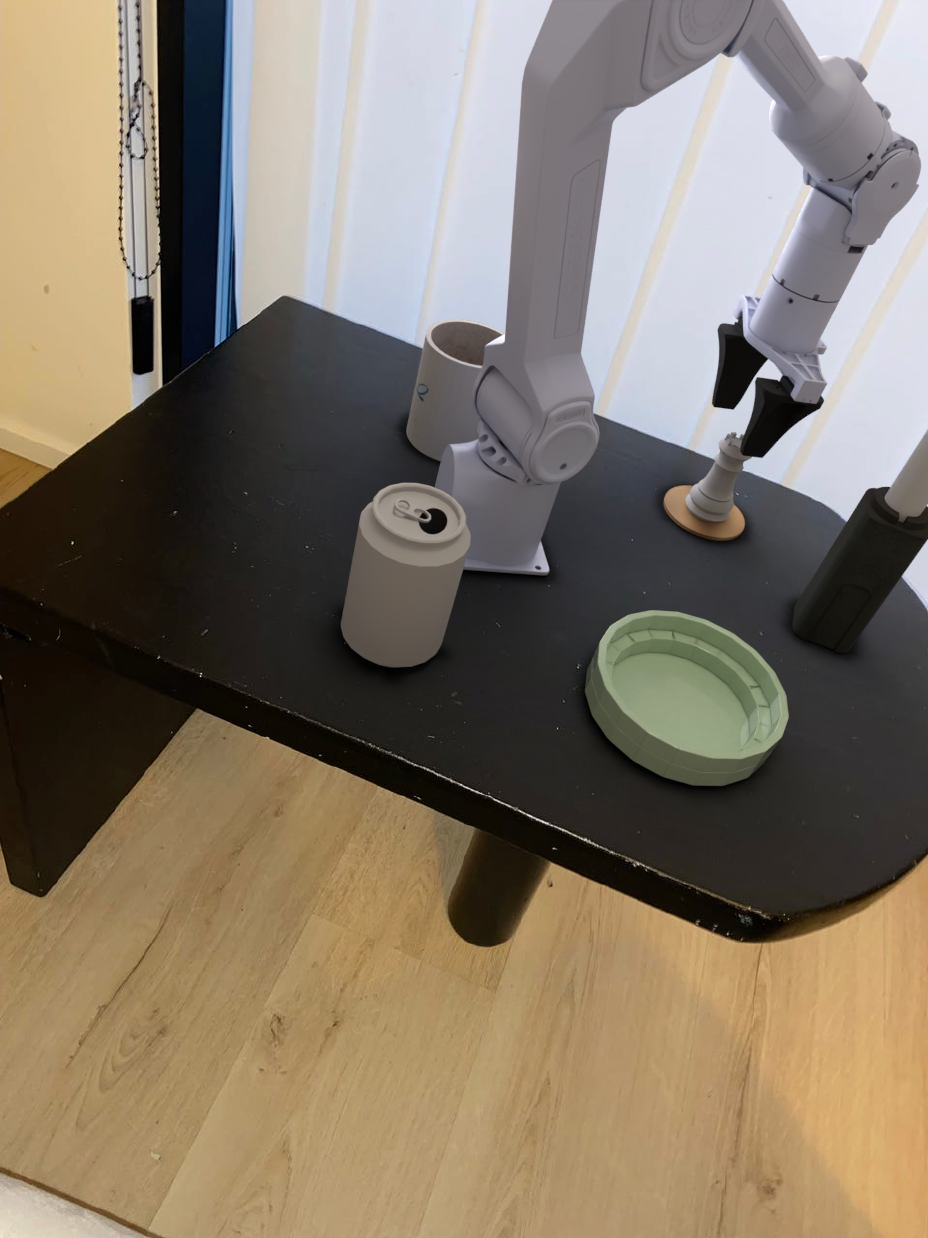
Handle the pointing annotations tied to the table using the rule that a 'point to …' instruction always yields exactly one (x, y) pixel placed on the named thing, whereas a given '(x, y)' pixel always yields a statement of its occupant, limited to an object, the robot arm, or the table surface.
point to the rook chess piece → (718, 483)
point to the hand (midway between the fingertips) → (736, 429)
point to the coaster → (690, 523)
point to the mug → (448, 385)
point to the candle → (867, 558)
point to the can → (404, 574)
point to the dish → (685, 698)
